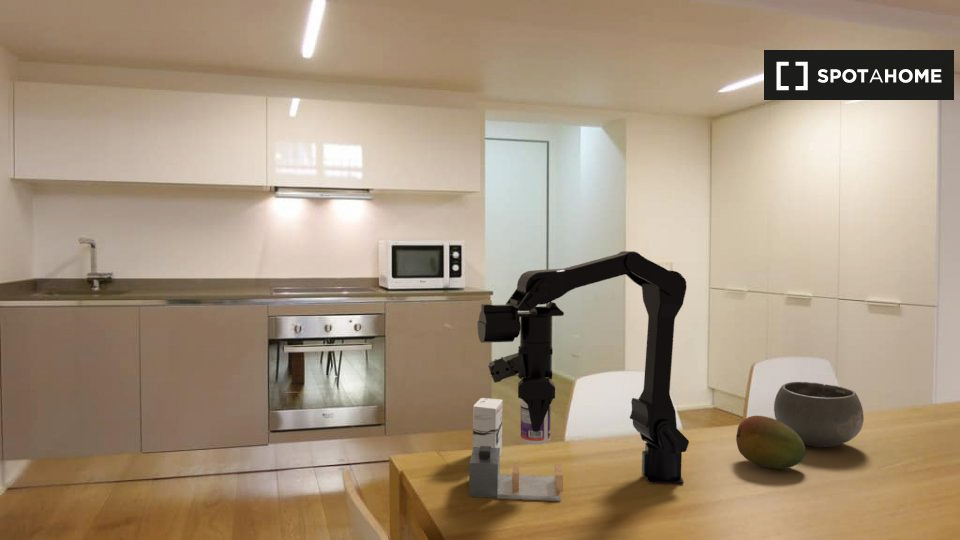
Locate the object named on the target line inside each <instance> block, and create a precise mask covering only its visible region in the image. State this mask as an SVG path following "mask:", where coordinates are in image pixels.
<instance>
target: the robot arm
mask: <svg viewBox="0 0 960 540" xmlns="http://www.w3.org/2000/svg"><path fill="white" fill-rule="evenodd" d="M624 275H625V276H627V277H628V278H629V279H630V280H631V281H632V282H633V283H635V284H636V285H638V286H639V287H641V290H642V302H643V304H644V307H645V310H646V313H647V316H648V320H647V335H646V347H645V348H646V349H645V362H644V366H645V367H644V377H643V378H644V379H643V388H642V392H641V394H640V396H639V397H638V398H635V397H632V398H631V413H630V416H629V419H631V420H632V425H633V428H634V429H635V431H637V433H639V435H640V439H641V441H643V442H645V443H644V445H645V447H644V450H642V451H641V472H642V474H643V476H644V477H645V478H646V480H647V482H648V483H651V484H675V485H676V484H679V485H681V484H684V479H683V478H682V459H683V458H682V456H683V455H682V453H685V452H687V450H688V447H689V444H690V441H689V439H688V438H687V437H686V436H685V435H684V434H683V433H682V432H681V431H680V430H679V429H678V425H677V415H676V413H677V412H676V409H675V406H674V403H673V401H672V397H671V391H670V390H671V379H672V378H671V376H672V364H673V363H672V361H673V347H674V334H675V333H674V332H675V322H676V321H675V320H676V317H677V315H678V314H679V312H680V311H681V309H682V307H683V305H684V301H685V297H686V292H687V281H686V278H685V277H684V276H683V275H682V274H681V273H680V272H678V271H677V270H676V271H675V270H668V269H667V268H666V267H663V266H661V265H659V264H658V263H655V262H653V261H652V260H650V259H647V258H646V257H645V256H643V255H641V254H640V253H639V252H637V251H632V250H631V251H627V250H624V251H619V252H618V253H617V254H612V255H609V256H605V257H601V258H598V259H594V260H590V261H587V262H582V263H579V264H576V265H573V266H571V265H570V266H569V267H563V268H553V269H552V268H551V269H550V268H549V269H536V270H535V269H534V270H528V271H525V272H523V273H522V274H521V275H520V276H519V278H518V280H517V284H516V289H515V290H514V292H513V293H512V294H511V296H510V297H509V299H507V301H506V303H505V304H492V303H490V304H489V303H482V304H481V306H480V307H481V309H480V313H479V315H478V320H477V335H478V339H479V342H480V343H481V344H487V343H488V344H489V343H491V344H492V343H511V342H514V341H515V338H518V337H519V336H520V337H519V338H520V339H519V340H520V341H519V342H520V343H519V346H518V349H517V350H518V352H517V353H513V354H510V355H506V356H504V357H503V356H501V357H500V358H498V359H494V360H492V361H490V362H489V363H488V369H489V373H490V374H489V375H490V376H491V377H492V380H493V383H494V384H495V383H499V382H502V380H505V379H507V378H510V377H513V376H514V377H515V376H516V375H517V376H518V379H519V380H520V381H518V383H517V398H519V399H521V400H523V401H525V402H526V403H527V405H528V410H529V415H530V420H531V425H532V430H533V431H534V432H538V431H539V430H540V428H541V425H542V423H543V420H544V418H545V416H546V413H547V411H548V409H549V407H550V408H551V404H552V401H553V400H554V399H556V385H555V382H554V381H552V380H553V317H562V316H564V315H565V312H564V311H562V310H561V309H560V308H559V306H558V305H557V303H556V302H553V301H555V300H558V299H559V298H561V297H563V296H564V295H566V294H567V293H569V292H570V291H572V290H574V289H577V288H580V287H581V288H582V287H586V286H588V285H592V284H595V283H599V282H603V281H606V280H610V279H614V278H616V277H617V278H618V277H621V276H624ZM538 305H540V306H538ZM541 305H544V306H541Z"/></svg>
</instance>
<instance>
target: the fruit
mask: <svg viewBox="0 0 960 540" xmlns="http://www.w3.org/2000/svg"><path fill="white" fill-rule="evenodd" d="M735 440H736V445H737V450H738V452H739V453H740V454H741V456H742V457H744V459H745V460H747V461H749V462H751V463H752V464H755V465H758V466H761V467H764V468H768V469H773V470H774V469H777V470H779V469H780V470H781V469H782V470H783V469H788V468H791V467H792V468H793V467H795V466H797V465H798V464H799V463H802V461H803V460H804V458H805V456H806V447H805V445H804V443H803V441H802V439H801V438H800V436H799V435H798V434H797V433H796V432H795V431H794V430H792V429H791V428H790V427H788V426H787V425H785V424H784V423H782V422H780V421H777V420H776V418H772V417H768V416H763V415H752V416H751V415H750V416H749V417H746V418H744V419H743V420H741V421H740V423H739V424H738V427H737V430H736V435H735Z"/></svg>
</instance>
